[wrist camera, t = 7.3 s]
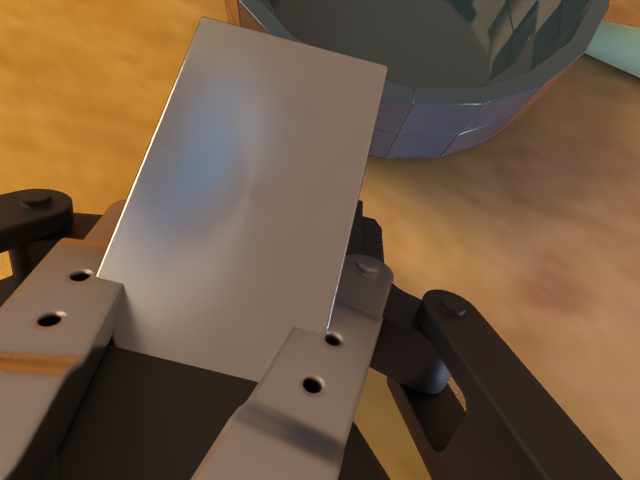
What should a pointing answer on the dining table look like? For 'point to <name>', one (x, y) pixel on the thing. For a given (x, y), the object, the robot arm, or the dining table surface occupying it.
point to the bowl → (440, 58)
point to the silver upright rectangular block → (243, 200)
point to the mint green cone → (617, 46)
